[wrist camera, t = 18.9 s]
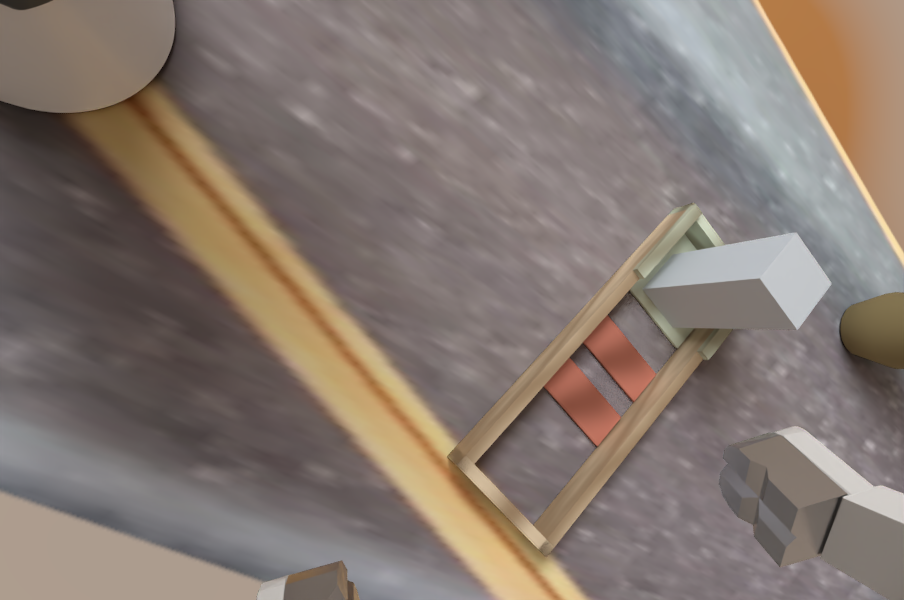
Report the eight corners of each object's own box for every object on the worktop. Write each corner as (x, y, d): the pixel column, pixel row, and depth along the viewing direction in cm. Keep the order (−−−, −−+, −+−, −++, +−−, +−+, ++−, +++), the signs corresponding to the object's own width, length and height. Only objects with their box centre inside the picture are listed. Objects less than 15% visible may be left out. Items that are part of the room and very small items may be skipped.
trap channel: (446, 456, 38) (458, 467, 35) (673, 208, 46) (698, 200, 43) (532, 543, 40) (550, 561, 37) (735, 291, 48) (764, 289, 45)
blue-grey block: (642, 289, 44) (759, 278, 33) (672, 254, 46) (796, 232, 34) (672, 327, 45) (797, 330, 34) (701, 292, 47) (831, 283, 35)
